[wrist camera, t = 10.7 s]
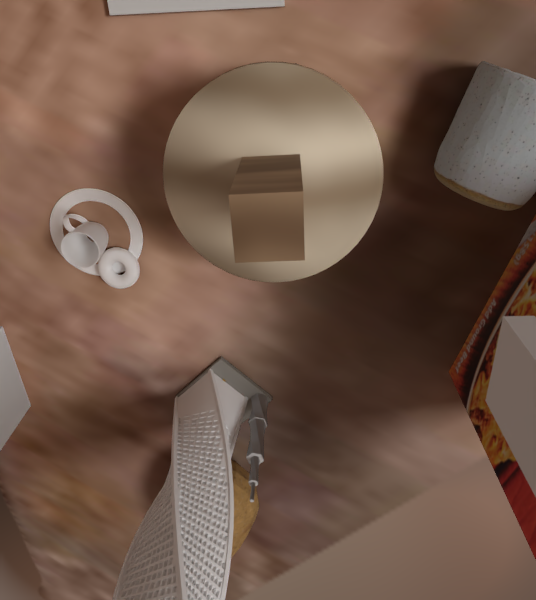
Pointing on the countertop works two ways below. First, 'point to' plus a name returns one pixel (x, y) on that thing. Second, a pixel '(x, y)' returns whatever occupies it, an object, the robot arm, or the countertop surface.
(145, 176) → the countertop surface
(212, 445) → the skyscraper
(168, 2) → the mat
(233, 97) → the lid
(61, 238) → the cup and donut ornament
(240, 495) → the potato
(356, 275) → the countertop surface
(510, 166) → the ceramic mug
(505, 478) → the pasta box
